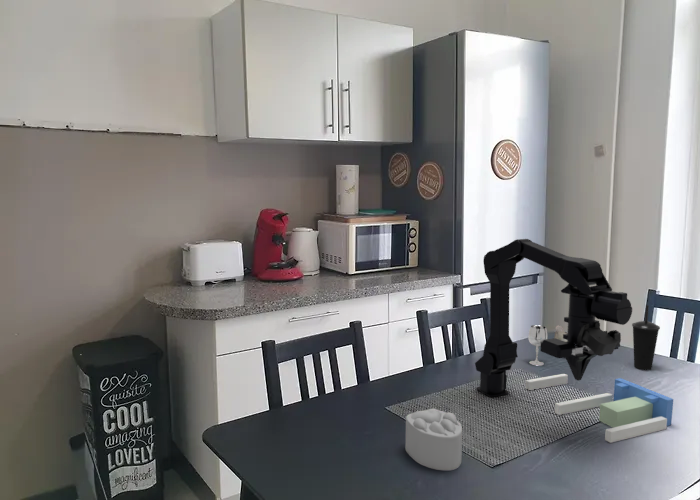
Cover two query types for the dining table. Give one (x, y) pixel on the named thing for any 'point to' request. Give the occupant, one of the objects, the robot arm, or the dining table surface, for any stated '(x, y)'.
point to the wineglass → (537, 340)
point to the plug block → (625, 411)
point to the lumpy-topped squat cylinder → (434, 439)
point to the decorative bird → (560, 333)
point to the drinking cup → (644, 342)
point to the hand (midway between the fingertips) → (577, 379)
